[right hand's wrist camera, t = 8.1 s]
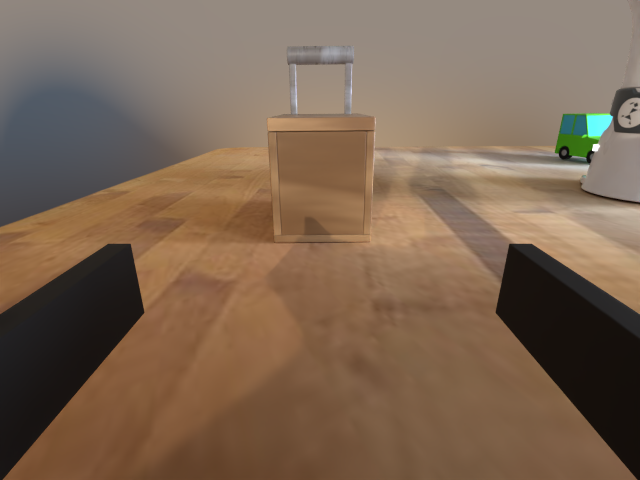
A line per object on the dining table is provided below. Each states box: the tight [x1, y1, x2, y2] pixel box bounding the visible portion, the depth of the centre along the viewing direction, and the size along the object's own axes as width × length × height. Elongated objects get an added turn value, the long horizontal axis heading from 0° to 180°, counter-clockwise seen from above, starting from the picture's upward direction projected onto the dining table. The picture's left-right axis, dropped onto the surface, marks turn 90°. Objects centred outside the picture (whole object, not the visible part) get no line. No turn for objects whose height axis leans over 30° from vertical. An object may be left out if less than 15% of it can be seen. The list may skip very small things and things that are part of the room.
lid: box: [267, 46, 376, 131], centre depth 37 cm, size 15×9×8 cm, turn 0°
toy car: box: [555, 113, 613, 164], centre depth 79 cm, size 10×13×10 cm
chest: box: [268, 130, 375, 243], centre depth 40 cm, size 14×9×10 cm, turn 0°
